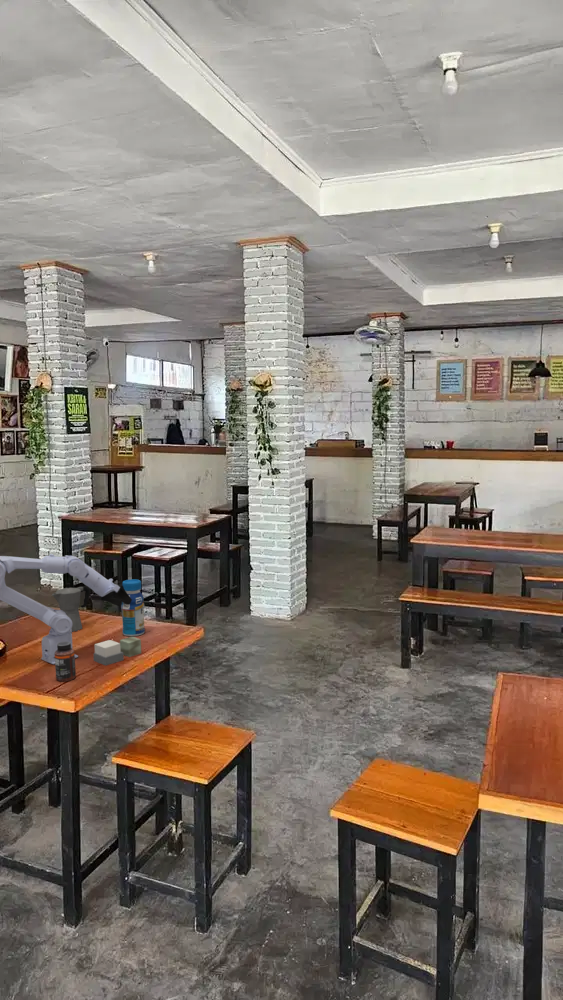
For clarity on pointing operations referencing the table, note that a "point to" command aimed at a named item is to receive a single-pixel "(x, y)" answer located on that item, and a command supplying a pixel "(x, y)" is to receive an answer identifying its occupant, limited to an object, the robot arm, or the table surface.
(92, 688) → the table surface
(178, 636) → the table surface
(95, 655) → the tower base
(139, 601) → the beverage bottle
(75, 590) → the coffeepot
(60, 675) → the supplement bottle
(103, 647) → the tower top
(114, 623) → the table surface
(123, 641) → the sage block
